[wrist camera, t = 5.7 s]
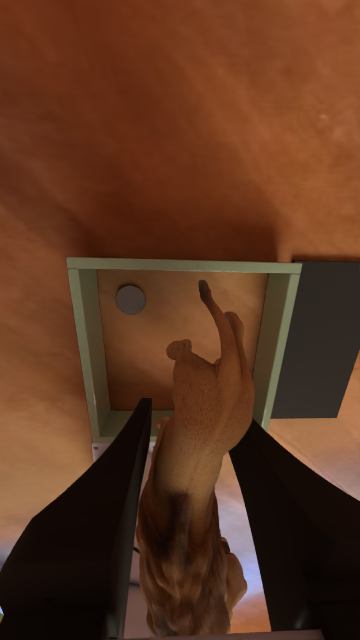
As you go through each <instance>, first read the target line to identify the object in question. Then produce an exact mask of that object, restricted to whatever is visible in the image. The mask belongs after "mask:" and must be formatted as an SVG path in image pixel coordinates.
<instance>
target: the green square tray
mask: <svg viewBox="0 0 360 640" xmlns="http://www.w3.org/2000/svg"><path fill="white" fill-rule="evenodd" d="M66 263H67V268H68V269H67V270H68V277H69V284H70V291H71V298H72V304H73V311H74V318H75V325H76V332H77V339H78V345H79V352H80V359H81V366H82V373H83V379H84V386H85V393H86V400H87V407H88V414H89V420H90V427H91V434H92V441H93V443H112V442H113V440H114V439H115V438H116V437H117V435H118V434H119V432H120V431H121V430H122V428H123V427H124V426H125V424H126V423H127V421H128V420H129V418H130V416H131V415H132V413H133V412H134V411H111V410H110V400H109V391H108V381H107V371H106V362H105V352H104V342H103V333H102V323H101V313H100V304H99V294H98V284H97V275H96V269H116V270H160V271H203V272H247V273H269V276H268V282H267V289H266V295H265V301H264V307H263V314H262V320H261V326H260V333H259V339H258V345H257V352H256V358H255V364H254V370H253V377H252V380H253V384H254V391H255V402H254V409H253V419H254V420H255V421H256V422H257V423H258V424H259V425H260V426H261V427H262V428H263V429H264V430H265V431H266V432H268V428H269V423H270V418H271V413H272V408H273V403H274V399H275V394H276V389H277V384H278V379H279V374H280V370H281V365H282V360H283V355H284V350H285V345H286V341H287V336H288V331H289V326H290V321H291V316H292V312H293V307H294V302H295V297H296V292H297V287H298V283H299V278H300V273H301V268H302V263H284V262H245V261H206V260H167V259H128V258H89V257H66ZM116 303H117V306H118V308H119V309H120V310H121V311H122V312H124V313H126V314H129V315H134V314H138V313H139V312H141V311H142V310H143V309H144V307H145V304H146V298H145V295H144V293H143V291H142V290H141V289H139V288H138V287H136V286H131V285H130V286H125V287H123V288H121V289H120V290H119V291H118V293H117V295H116ZM174 411H175V410H152V426H151V436H150V442H156V438H157V435H158V433H159V428H158V427H157V426H156V424H157V420H158V419H159V418H161V417H164V416H166V417H169V418H170V417H171V415H172V414H173V412H174Z"/></svg>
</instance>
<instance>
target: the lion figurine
mask: <svg viewBox="0 0 360 640" xmlns="http://www.w3.org/2000/svg"><path fill="white" fill-rule="evenodd" d="M199 291H200V297H201V300H202V301H203V302H204V304H205V305H206V307H207V308H208V310H209V311H210V313H211V314H212V316H213V318H214V320H215V323H216V325H217V328H218V331H219V335H220V341H221V358H220V359H218V360H216V362H215V363H214V364H211V363H209V362H207V361H206V360H205V359H203V358H201V357H199V356H198V355H196V354H194V353H192V352H191V348H192V347H191V341H190V340H188V339H184V340H182V341H174V342H172V343H171V344H169V345H168V347H167V349H166V353H167V355H168V357H169V358H171V359H173V360H176V362H175V365H174V370H173V381H174V386H173V393H172V397H173V403H174V409H175V411H174V412H173V414H172V415H171V417H170V418H169V417H166V416H164V417H161V418H159V419H158V420H157V424H156V426H157V427H158V428H159V433H158V435H157V438H156V442H155V446H154V449H153V452H152V456H151V467H150V470H149V474H148V480H147V481H146V484H145V487H144V489H143V491H142V494H141V497H140V501H139V505H138V524H137V527H136V539H137V543H138V546H139V549H140V558H139V570H140V573H139V581H140V588H141V594H142V597H143V599H144V601H145V603H146V606H147V616H146V622H147V627H148V629H149V632H150V633H151V637H172V636H192V635H213V634H230V620H231V618H232V609H233V608H234V607H235V605H236V604H237V602H238V601H239V600H240V599H241V598H242V597H243V596H244V594H245V593H246V591H247V583H246V580H245V579H244V576H243V570H242V566H241V564H240V562H239V560H238V559H237V557H236V556H235V554H233V553H230V549H229V545H228V542H227V540H226V539H225V538H224V537H221V533H220V529H219V516H218V504H217V499H216V495H215V491H214V490H215V484H216V482H217V479H218V476H219V473H220V470H221V465H222V459H223V455H224V454H226V453H227V452H228V451H229V450H231V449H232V448H233V447H234V446H236V445H237V444H238V442H239V441H240V440H241V439H242V437H243V436H244V434H245V433H246V431H247V430H248V428H249V426H250V424H251V422H252V417H253V409H254V402H255V391H254V384H253V380H252V376H251V373H250V370H249V367H248V364H247V361H246V357H245V354H244V349H243V333H244V326H243V323H242V322H241V320H240V319H239V317H238V315H237V314H236V313H234V312H229V311H228V312H225V313H223V312H222V311H221V310H220V309H219V307H218V306H217V304H216V303H215V302H214V301H213V299H212V296H211V290H210V289H209V287H208V284H207V282H206V281H205V280H200V281H199Z"/></svg>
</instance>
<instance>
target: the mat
mask: <svg viewBox="0 0 360 640" xmlns="http://www.w3.org/2000/svg"><path fill="white" fill-rule="evenodd" d="M291 263H302V268H301V273H300V278H299V283H298V287H297V292H296V297H295V302H294V307H293V312H292V316H291V321H290V326H289V331H288V336H287V341H286V345H285V350H284V355H283V360H282V365H281V370H280V374H279V379H278V384H277V389H276V394H275V399H274V403H273V408H272V413H271V418H270V419H284V418H337V415H338V412H339V409H340V406H341V403H342V400H343V397H344V394H345V391H346V388H347V385H348V382H349V379H350V376H351V373H352V370H353V367H354V364H355V361H356V358H357V355H358V353H359V350H360V262H333V261H295V260H293V261H292V262H291Z"/></svg>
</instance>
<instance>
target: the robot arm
mask: <svg viewBox="0 0 360 640" xmlns="http://www.w3.org/2000/svg"><path fill="white" fill-rule="evenodd" d="M151 426H152V398H141V399H140V400H139V403H138V405H137V406H136V408H135V410H134V412H133V413H132V415H131V416H130V418H129V420H128V421H127V423H126V424H125V426H124V427H123V428H122V430H121V431H120V432H119V434H118V435H117V437H116V438H115V439H114V440H113V442H112V443H93V441H92V444H91V446H92V453H93V460H94V463H93V464H92V466H91V467H90V468H89V469H88V470H87V471H86V472H85V473H84V474H83V475H82V476H81V477H79V478H78V479H77V480H76V481H75V482H74V483H73V484H72V485H71V486H70V487H69V488H68V489H67V490H65V491H64V492H63V493H62V494H61V495H60V496H59V497H57V498H56V499H55V500H54V501H53V502H51V503H50V504H49V505H48V506H47V507H45V508H44V509H43V510H42V511H41V512H39V513H38V514H37V515H36V516H34V517H33V518H32V519H31V521H30V522H29V524H28V525H27V527H26V528H25V530H24V531H23V533H22V534H21V536H20V537H19V539H18V541H17V542H16V544H15V545H14V547H13V549H12V551H11V553H10V554H9V556H8V558H7V560H6V562H5V564H4V565H3V567H2V569H1V571H0V607H1V609H2V611H3V614H4V616H3V618H2V620H1V622H0V640H360V501H359V500H357V499H355V498H353V497H352V496H350V495H348V494H347V493H345V492H344V491H342V490H341V489H339V488H338V487H336V486H335V485H333V484H331V483H330V482H328V481H327V480H326V479H324V478H323V477H321V476H320V475H318V474H317V473H316V472H314V471H313V470H311V469H310V468H309V467H307V466H306V465H305V464H303V463H302V462H301V461H300V460H298V459H297V458H296V457H294V456H293V455H292V454H291V453H290V452H288V451H287V450H286V449H285V448H284V447H282V446H281V445H280V444H279V443H278V442H277V441H276V440H275V439H274V438H273V437H272V436H270V435H269V434H268V433H267V432H266V431H265V430H264V429H263V428H262V427H261V426H260V425H259V424H258V423H257V422H256V421H255V420H254V419H253V417H252V422H251V424H250V426H249V428H248V430H247V431H246V433H245V434H244V436H243V437H242V439H241V440H240V441H239V442H238V444H237V445H236V446H234V447H233V448H232V449H231V450H229V451H228V452H229V455H230V458H231V461H232V464H233V467H234V470H235V473H236V476H237V479H238V482H239V485H240V489H241V492H242V495H243V499H244V503H245V507H246V511H247V516H248V520H249V524H250V528H251V533H252V537H253V542H254V546H255V551H256V555H257V560H258V565H259V570H260V574H261V579H262V584H263V589H264V594H265V599H266V605H267V610H268V615H269V620H270V626H271V631H272V632H254V633H234V634H213V635H192V636H172V637H151V633H150V632H149V629H148V627H147V622H146V616H147V606H146V603H145V601H144V599H143V597H142V594H141V588H140V581H139V573H140V570H139V558H140V549H139V546H138V543H137V539H136V527H137V524H138V505H139V501H140V497H141V494H142V491H143V489H144V487H145V484H146V481H147V480H148V474H149V470H150V467H151V456H152V452H153V449H154V446H155V442H150V436H151Z"/></svg>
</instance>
